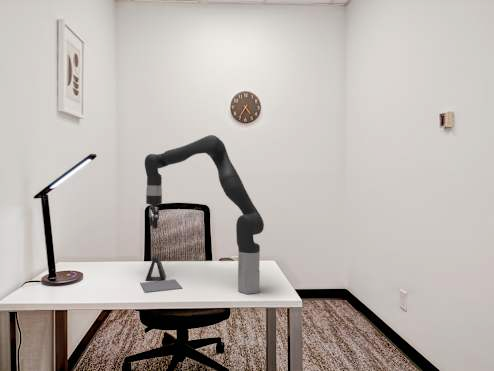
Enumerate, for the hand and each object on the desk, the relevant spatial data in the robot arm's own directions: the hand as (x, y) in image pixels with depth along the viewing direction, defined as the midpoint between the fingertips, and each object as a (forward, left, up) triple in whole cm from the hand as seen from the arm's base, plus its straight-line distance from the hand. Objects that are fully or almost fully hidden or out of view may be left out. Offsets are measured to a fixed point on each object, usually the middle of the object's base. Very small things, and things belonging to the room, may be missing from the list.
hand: (153, 227), depth 184 cm
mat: (-21, 0, -24) cm, 32 cm away
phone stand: (-9, 0, -24) cm, 26 cm away
